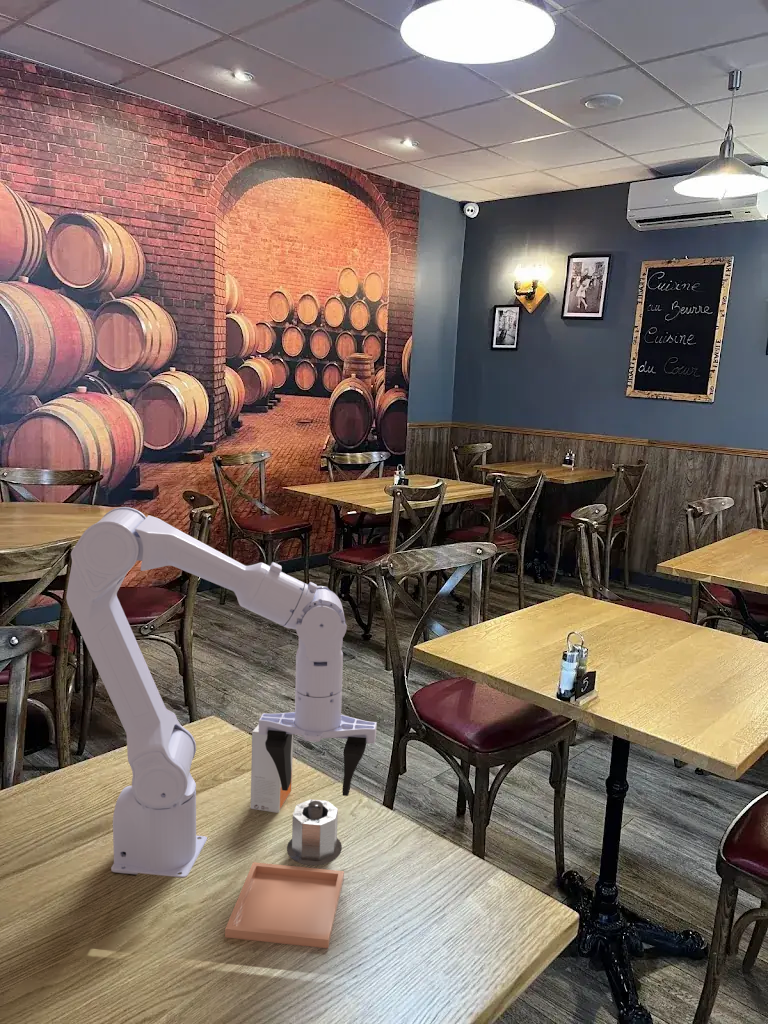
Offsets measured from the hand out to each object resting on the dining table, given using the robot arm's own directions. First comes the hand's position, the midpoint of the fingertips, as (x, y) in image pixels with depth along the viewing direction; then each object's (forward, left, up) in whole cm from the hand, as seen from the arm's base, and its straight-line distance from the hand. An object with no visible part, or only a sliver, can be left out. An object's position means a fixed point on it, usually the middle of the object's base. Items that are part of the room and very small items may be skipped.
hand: (316, 788), depth 94 cm
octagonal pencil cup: (0, 0, -8) cm, 8 cm away
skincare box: (-8, +10, -9) cm, 16 cm away
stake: (0, 0, -9) cm, 9 cm away
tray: (-1, -11, -9) cm, 14 cm away
